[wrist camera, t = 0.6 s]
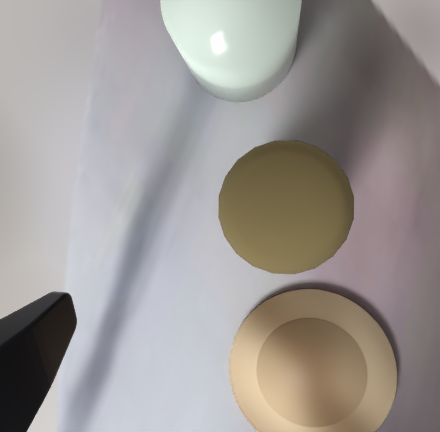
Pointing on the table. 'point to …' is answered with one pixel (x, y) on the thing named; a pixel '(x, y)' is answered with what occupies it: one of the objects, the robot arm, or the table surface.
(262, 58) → the pale mint rounded cylinder
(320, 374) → the trivet
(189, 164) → the table surface
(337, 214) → the pepper shaker
